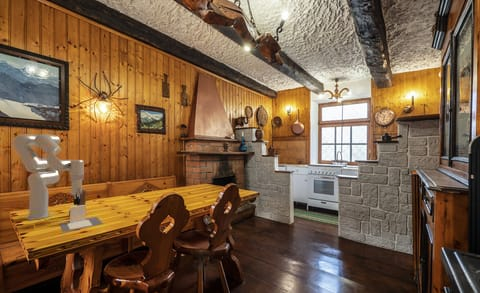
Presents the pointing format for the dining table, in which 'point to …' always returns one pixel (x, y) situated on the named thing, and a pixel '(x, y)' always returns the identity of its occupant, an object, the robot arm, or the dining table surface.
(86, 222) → the mat
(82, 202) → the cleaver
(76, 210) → the deck
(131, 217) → the dining table surface
